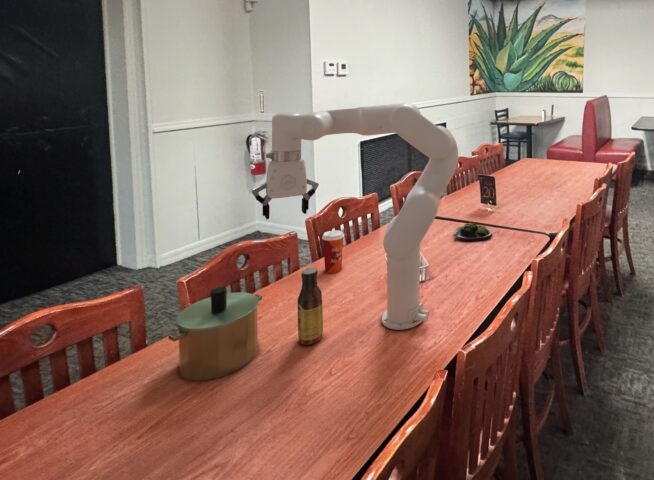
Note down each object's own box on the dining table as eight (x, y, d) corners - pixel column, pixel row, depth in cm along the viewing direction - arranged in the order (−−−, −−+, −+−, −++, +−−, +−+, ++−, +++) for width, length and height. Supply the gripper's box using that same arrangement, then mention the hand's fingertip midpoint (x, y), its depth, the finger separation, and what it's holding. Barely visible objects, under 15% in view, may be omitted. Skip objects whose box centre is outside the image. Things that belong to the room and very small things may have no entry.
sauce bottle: (303, 333, 126) (302, 264, 126) (326, 332, 127) (325, 264, 126) (294, 347, 120) (293, 275, 119) (318, 346, 121) (317, 274, 120)
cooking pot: (280, 344, 121) (279, 299, 121) (193, 396, 102) (192, 342, 101) (240, 328, 128) (240, 286, 128) (152, 374, 109) (151, 324, 108)
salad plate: (450, 228, 214) (450, 218, 214) (487, 225, 218) (487, 216, 218) (453, 242, 196) (454, 232, 195) (494, 240, 200) (494, 229, 199)
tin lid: (273, 305, 119) (273, 282, 118) (204, 340, 103) (203, 314, 102) (231, 291, 126) (231, 269, 126) (160, 322, 110) (160, 297, 110)
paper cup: (336, 275, 163) (336, 237, 162) (317, 273, 164) (317, 236, 164) (348, 266, 171) (348, 230, 170) (330, 264, 172) (330, 228, 171)
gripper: (253, 161, 119) (253, 224, 120) (321, 155, 130) (321, 214, 130) (250, 156, 125) (249, 216, 126) (315, 151, 136) (314, 207, 136)
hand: (286, 215), depth 128 cm, fingers open, 9 cm apart
